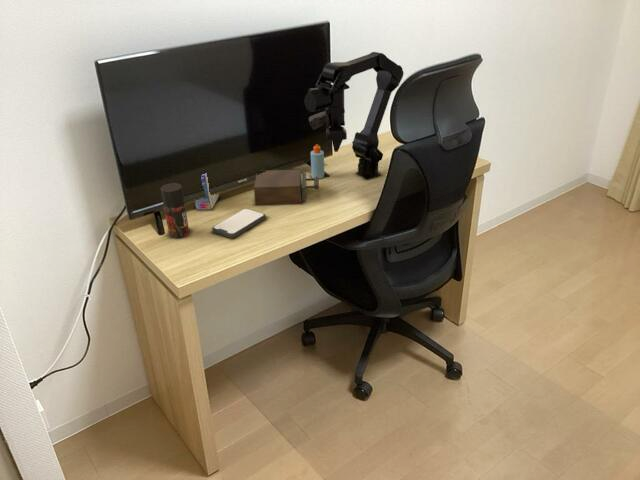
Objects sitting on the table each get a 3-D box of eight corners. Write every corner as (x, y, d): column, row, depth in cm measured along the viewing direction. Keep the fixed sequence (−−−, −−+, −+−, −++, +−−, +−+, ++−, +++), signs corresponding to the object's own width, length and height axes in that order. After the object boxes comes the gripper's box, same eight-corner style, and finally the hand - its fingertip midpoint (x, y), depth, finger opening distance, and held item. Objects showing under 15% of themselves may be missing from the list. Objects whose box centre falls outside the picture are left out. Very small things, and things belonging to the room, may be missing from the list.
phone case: (245, 212, 183) (210, 232, 171) (245, 207, 182) (210, 227, 171) (267, 218, 179) (233, 239, 167) (267, 214, 178) (232, 235, 166)
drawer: (319, 184, 197) (318, 171, 195) (319, 199, 186) (319, 186, 184) (265, 186, 197) (264, 173, 195) (263, 201, 187) (262, 188, 184)
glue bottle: (319, 172, 208) (318, 141, 202) (326, 176, 204) (326, 145, 199) (309, 175, 206) (307, 144, 200) (315, 179, 202) (314, 148, 196)
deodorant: (171, 228, 174) (163, 183, 167) (191, 228, 174) (183, 182, 167) (166, 238, 169) (158, 192, 162) (186, 238, 169) (179, 191, 161)
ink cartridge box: (203, 196, 193) (197, 155, 186) (219, 196, 193) (214, 156, 186) (194, 209, 185) (188, 167, 178) (211, 210, 184) (205, 168, 177)
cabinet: (301, 186, 198) (301, 169, 195) (301, 203, 186) (300, 185, 183) (258, 187, 198) (257, 170, 195) (255, 205, 186) (253, 187, 183)
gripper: (309, 97, 190) (311, 142, 198) (309, 114, 174) (311, 163, 182) (343, 96, 190) (344, 141, 198) (346, 113, 174) (346, 161, 182)
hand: (336, 151), depth 190 cm, fingers closed
